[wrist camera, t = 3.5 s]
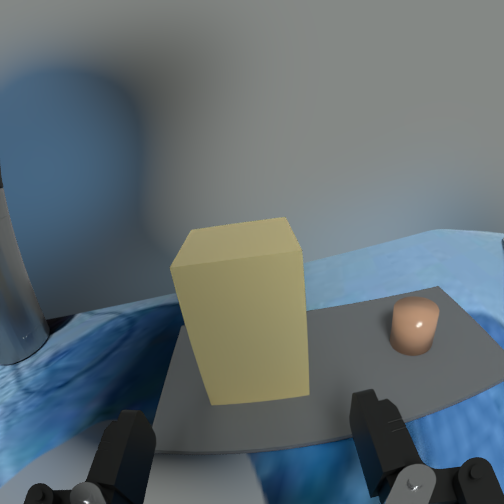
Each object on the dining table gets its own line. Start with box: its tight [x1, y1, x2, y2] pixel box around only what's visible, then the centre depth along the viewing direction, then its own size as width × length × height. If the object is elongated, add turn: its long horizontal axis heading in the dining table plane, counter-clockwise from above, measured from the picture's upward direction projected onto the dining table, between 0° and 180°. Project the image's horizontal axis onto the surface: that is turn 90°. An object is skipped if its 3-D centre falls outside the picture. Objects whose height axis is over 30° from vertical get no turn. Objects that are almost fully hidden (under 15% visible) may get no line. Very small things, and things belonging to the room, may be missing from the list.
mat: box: [152, 286, 504, 455], centre depth 21 cm, size 26×14×1 cm, turn 91°
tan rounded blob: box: [390, 296, 439, 356], centre depth 20 cm, size 4×4×3 cm
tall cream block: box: [170, 217, 309, 405], centre depth 19 cm, size 6×6×10 cm
